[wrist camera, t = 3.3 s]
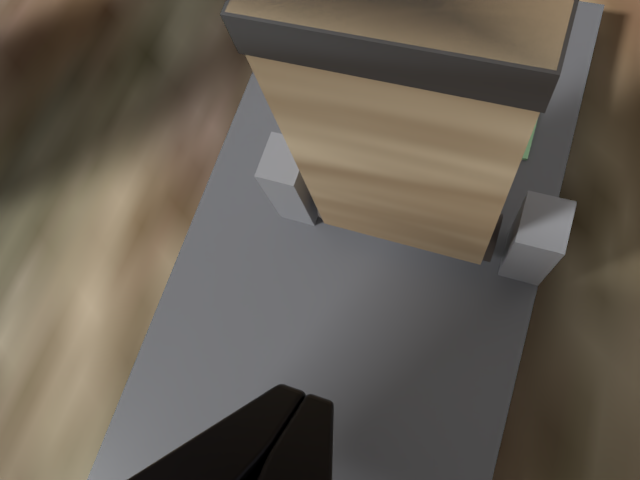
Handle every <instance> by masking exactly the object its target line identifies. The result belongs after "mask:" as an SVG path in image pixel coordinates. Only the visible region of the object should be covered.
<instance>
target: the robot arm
mask: <svg viewBox="0 0 640 480" xmlns="http://www.w3.org/2000/svg"><path fill="white" fill-rule="evenodd" d="M333 424H334V404H333V402H332V401H331V400H328V399H325V398H322V397H320V396H317V395H314V394H307V395H306V394H305V392H304V391H302V390H299V389H296V388H294V387H291V386H288V385H285V384H279V385H276V386H275V387H273V388H271V389H270V390H268V391H267V392H265V393H263V394H262V395H260V396H259V397H257V398H256V399H254V400H252V401H251V402H249V403H248V404H246V405H244V406H243V407H241V408H240V409H238V410H237V411H235V412H233V413H232V414H230V415H229V416H227V417H225V418H224V419H222V420H221V421H219V422H218V423H216V424H214V425H213V426H211V427H210V428H208V429H206V430H205V431H203V432H202V433H200V434H199V435H197V436H195V437H194V438H192V439H191V440H189V441H187V442H186V443H184V444H183V445H181V446H180V447H178V448H176V449H175V450H173V451H172V452H170V453H168V454H167V455H165V456H164V457H162V458H161V459H159V460H157V461H156V462H154V463H153V464H151V465H149V466H148V467H146V468H145V469H143V470H142V471H140V472H138V473H137V474H135V475H134V476H132V477H130V478H129V479H127V480H332V464H333Z"/></svg>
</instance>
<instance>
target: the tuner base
mask: <svg viewBox="0 0 640 480" xmlns="http://www.w3.org/2000/svg"><path fill="white" fill-rule="evenodd" d="M603 9H604V5H601V4H594V3H588V2H581V1H579V3H578V7H577V11H576V15H575V19H574V23H573V27H572V31H571V35H570V39H569V43H568V47H567V51H566V55H565V59H564V63H563V67H562V71H561V75H560V77H559V80H558V82H557V85H556V87H555V90H554V92H553V94H552V97H551V99H550V102H549V104H548V107H547V109H546V112H545V113H540V114H539V116H538V119H537V122H536V124H535V127H534V129H533V132H532V134H531V137H530V139H529V142H528V145H527V147H526V150H525V152H524V155H523V157H522V160H521V162H520V165H519V168H518V170H517V173H516V175H515V178H514V180H513V183H512V185H511V188H510V191H509V193H508V196H507V198H506V201H505V203H504V206H503V209H502V211H501V214H503V219H502V223H501V227H500V231H499V235H498V239H497V242H496V246H495V249H494V252H493V255H492V258H491V261H490V262H487V261H483V260H482V262H481V265H479V264H475V263H471V262H468V261H464V260H460V259H456V258H453V257H449V256H445V255H441V254H438V253H434V252H430V251H426V250H423V249H419V248H415V247H411V246H408V245H404V244H400V243H396V242H392V241H389V240H385V239H381V238H377V237H374V236H370V235H366V234H362V233H359V232H355V231H351V230H347V229H344V228H340V227H336V226H332V225H328V224H325V223H324V222H323V220H322V218H320V217H319V216H318V209H317V207H316V205H315V203H314V201H313V199H312V196H311V194H310V192H309V190H308V188H307V186H306V184H305V181H304V179H303V177H302V175H301V173H300V171H299V169H298V167H297V164H296V162H295V160H294V158H293V156H292V154H291V152H290V150H289V147H288V145H287V143H286V141H285V139H284V137H283V135H282V132H281V130H280V128H279V126H278V124H277V122H276V120H275V118H274V115H273V113H272V111H271V109H270V107H269V105H268V103H267V101H266V98H265V96H264V94H263V92H262V90H261V88H260V86H259V83H258V81H257V79H256V77H255V75H254V73H253V72H252V75H251V77H250V80H249V82H248V84H247V87H246V89H245V92H244V94H243V97H242V99H241V102H240V104H239V107H238V109H237V112H236V114H235V117H234V119H233V121H232V124H231V126H230V129H229V131H228V134H227V136H226V139H225V141H224V144H223V146H222V149H221V151H220V154H219V156H218V158H217V161H216V163H215V166H214V168H213V171H212V173H211V176H210V178H209V181H208V183H207V186H206V188H205V191H204V193H203V195H202V198H201V200H200V203H199V205H198V208H197V210H196V213H195V215H194V218H193V220H192V223H191V225H190V228H189V230H188V232H187V235H186V237H185V240H184V242H183V245H182V247H181V250H180V252H179V255H178V257H177V260H176V262H175V265H174V267H173V269H172V272H171V274H170V277H169V279H168V282H167V284H166V287H165V289H164V292H163V294H162V297H161V299H160V302H159V304H158V306H157V309H156V311H155V314H154V316H153V319H152V321H151V324H150V326H149V329H148V331H147V334H146V336H145V339H144V341H143V343H142V346H141V348H140V351H139V353H138V356H137V358H136V361H135V363H134V366H133V368H132V371H131V373H130V376H129V378H128V380H127V383H126V385H125V388H124V390H123V393H122V395H121V398H120V400H119V403H118V405H117V408H116V410H115V413H114V415H113V417H112V420H111V422H110V425H109V427H108V430H107V432H106V435H105V437H104V440H103V442H102V445H101V447H100V450H99V452H98V454H97V457H96V459H95V462H94V464H93V467H92V469H91V472H90V474H89V477H88V479H87V480H127V479H129V478H130V477H132V476H134V475H135V474H137V473H138V472H140V471H142V470H143V469H145V468H146V467H148V466H149V465H151V464H153V463H154V462H156V461H157V460H159V459H161V458H162V457H164V456H165V455H167V454H168V453H170V452H172V451H173V450H175V449H176V448H178V447H180V446H181V445H183V444H184V443H186V442H187V441H189V440H191V439H192V438H194V437H195V436H197V435H199V434H200V433H202V432H203V431H205V430H206V429H208V428H210V427H211V426H213V425H214V424H216V423H218V422H219V421H221V420H222V419H224V418H225V417H227V416H229V415H230V414H232V413H233V412H235V411H237V410H238V409H240V408H241V407H243V406H244V405H246V404H248V403H249V402H251V401H252V400H254V399H256V398H257V397H259V396H260V395H262V394H263V393H265V392H267V391H268V390H270V389H271V388H273V387H275V386H276V385H279V384H285V385H288V386H291V387H294V388H296V389H299V390H302V391H304V392H305V394H306V395H307V394H314V395H317V396H320V397H322V398H325V399H328V400H331V401H332V402H333V404H334V424H333V464H332V480H492V478H493V474H494V469H495V465H496V461H497V457H498V453H499V448H500V444H501V440H502V436H503V431H504V427H505V423H506V419H507V414H508V410H509V406H510V402H511V398H512V393H513V389H514V385H515V381H516V376H517V372H518V368H519V364H520V360H521V355H522V351H523V347H524V343H525V338H526V334H527V330H528V326H529V322H530V317H531V313H532V309H533V305H534V300H535V296H536V292H537V288H538V285H539V284H540V283H541V282H542V281H543V279H544V278H545V277H546V276H547V275H548V274H549V272H550V271H551V270H552V269H553V268H554V267H555V266H556V264H557V263H558V262H559V261H560V260H561V259H562V257H563V256H564V255H565V252H566V248H567V244H568V239H569V235H570V230H571V226H572V222H573V217H574V213H575V208H576V204H577V201H572V200H568V199H564V198H559V195H560V191H561V186H562V182H563V178H564V174H565V169H566V165H567V161H568V157H569V152H570V148H571V144H572V140H573V136H574V131H575V127H576V123H577V119H578V114H579V110H580V106H581V102H582V98H583V93H584V89H585V85H586V81H587V76H588V72H589V68H590V64H591V60H592V55H593V51H594V47H595V43H596V38H597V34H598V30H599V26H600V21H601V17H602V13H603Z"/></svg>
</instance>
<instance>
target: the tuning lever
mask: <svg viewBox="0 0 640 480" xmlns="http://www.w3.org/2000/svg"><path fill="white" fill-rule="evenodd" d="M578 3H579V0H226V1H225V4H224V6H223V8H222V11H221V13H220V16H221V18H222V20H223V22H224V24H225V26H226V28H227V30H228V32H229V34H230V36H231V38H232V41H233V43H234V45H235V47H236V49H237V51H238V53H239V54H244V55H245V56H246V58H247V60H248V62H249V64H250V66H251V69H252V71H253V73H254V75H255V77H256V79H257V81H258V83H259V86H260V88H261V90H262V92H263V94H264V96H265V98H266V101H267V103H268V105H269V107H270V109H271V111H272V113H273V115H274V118H275V120H276V122H277V124H278V126H279V128H280V130H281V132H282V135H283V137H284V139H285V141H286V143H287V145H288V147H289V150H290V152H291V154H292V156H293V158H294V160H295V162H296V164H297V167H298V169H299V171H300V173H301V175H302V177H303V179H304V181H305V184H306V186H307V188H308V190H309V192H310V194H311V196H312V199H313V201H314V203H315V205H316V207H317V209H318V216H319V217H320V218H322V220H323V222H324V223H325V224H328V225H332V226H336V227H340V228H344V229H347V230H351V231H355V232H359V233H362V234H366V235H370V236H374V237H377V238H381V239H385V240H389V241H392V242H396V243H400V244H404V245H408V246H411V247H415V248H419V249H423V250H426V251H430V252H434V253H438V254H441V255H445V256H449V257H453V258H456V259H460V260H464V261H468V262H471V263H475V264H479V265H481V262H482V260H483V261H487V262H490V261H491V258H492V255H493V252H494V249H495V246H496V242H497V239H498V235H499V231H500V227H501V223H502V219H503V214H501V211H502V209H503V206H504V203H505V201H506V198H507V196H508V193H509V191H510V188H511V185H512V183H513V180H514V178H515V175H516V173H517V170H518V168H519V165H520V162H521V160H522V157H523V155H524V152H525V150H526V147H527V145H528V142H529V139H530V137H531V134H532V132H533V129H534V127H535V124H536V122H537V119H538V116H539V114H540V113H545V112H546V109H547V107H548V104H549V102H550V99H551V97H552V94H553V92H554V90H555V87H556V85H557V82H558V80H559V77H560V75H561V71H562V67H563V63H564V59H565V55H566V51H567V47H568V43H569V39H570V35H571V31H572V27H573V23H574V19H575V15H576V11H577V7H578Z"/></svg>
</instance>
